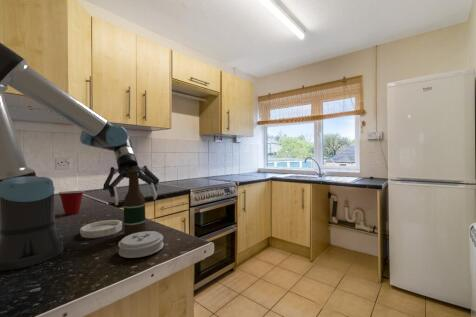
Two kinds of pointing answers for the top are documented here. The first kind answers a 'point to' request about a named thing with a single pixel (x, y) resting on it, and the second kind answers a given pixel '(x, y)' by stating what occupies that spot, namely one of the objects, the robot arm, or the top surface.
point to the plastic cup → (71, 201)
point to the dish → (101, 229)
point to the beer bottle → (134, 207)
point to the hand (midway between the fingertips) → (137, 200)
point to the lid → (140, 244)
